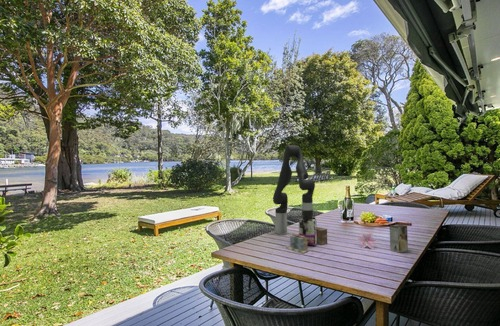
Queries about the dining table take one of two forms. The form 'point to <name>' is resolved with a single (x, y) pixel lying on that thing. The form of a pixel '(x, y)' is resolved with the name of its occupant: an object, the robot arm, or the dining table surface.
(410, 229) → the dining table surface
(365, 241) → the lily
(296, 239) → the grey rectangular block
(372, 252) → the dining table surface
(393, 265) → the dining table surface
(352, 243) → the dining table surface
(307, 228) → the candy bar box
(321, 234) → the walnut bookend
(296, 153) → the robot arm
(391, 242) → the coffee box
